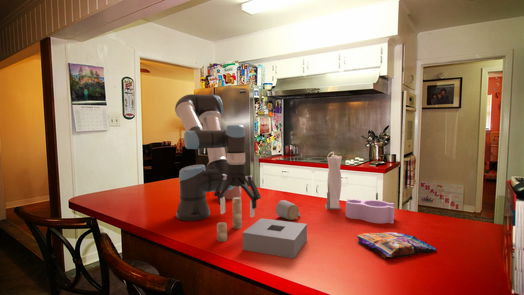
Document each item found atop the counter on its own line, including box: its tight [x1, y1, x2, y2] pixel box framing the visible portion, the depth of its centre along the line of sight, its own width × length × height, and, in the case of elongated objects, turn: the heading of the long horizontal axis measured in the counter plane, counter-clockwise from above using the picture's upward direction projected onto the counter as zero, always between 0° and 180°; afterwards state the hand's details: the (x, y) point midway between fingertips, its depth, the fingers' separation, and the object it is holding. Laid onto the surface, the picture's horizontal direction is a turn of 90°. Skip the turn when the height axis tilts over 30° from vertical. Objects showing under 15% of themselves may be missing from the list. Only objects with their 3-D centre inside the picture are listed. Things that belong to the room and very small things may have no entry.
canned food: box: [223, 186, 242, 200], centre depth 173 cm, size 11×11×12 cm
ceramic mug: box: [275, 199, 301, 221], centre depth 133 cm, size 11×8×8 cm
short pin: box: [216, 221, 228, 243], centre depth 108 cm, size 4×4×6 cm
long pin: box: [231, 197, 243, 230], centre depth 121 cm, size 4×4×12 cm
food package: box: [356, 232, 437, 259], centre depth 101 cm, size 22×25×4 cm
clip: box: [345, 198, 395, 224], centre depth 132 cm, size 20×12×7 cm, turn 65°
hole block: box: [242, 218, 308, 259], centre depth 103 cm, size 18×16×6 cm
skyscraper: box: [324, 151, 343, 210], centre depth 149 cm, size 8×8×28 cm
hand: (237, 214), depth 121 cm, fingers open, 13 cm apart
